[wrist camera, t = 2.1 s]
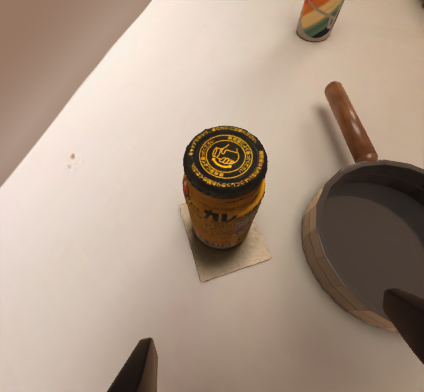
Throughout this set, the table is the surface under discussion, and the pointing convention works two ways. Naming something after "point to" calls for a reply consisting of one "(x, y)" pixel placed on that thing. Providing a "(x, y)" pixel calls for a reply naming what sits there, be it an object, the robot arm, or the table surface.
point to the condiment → (224, 200)
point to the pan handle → (350, 124)
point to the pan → (368, 236)
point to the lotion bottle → (318, 19)
